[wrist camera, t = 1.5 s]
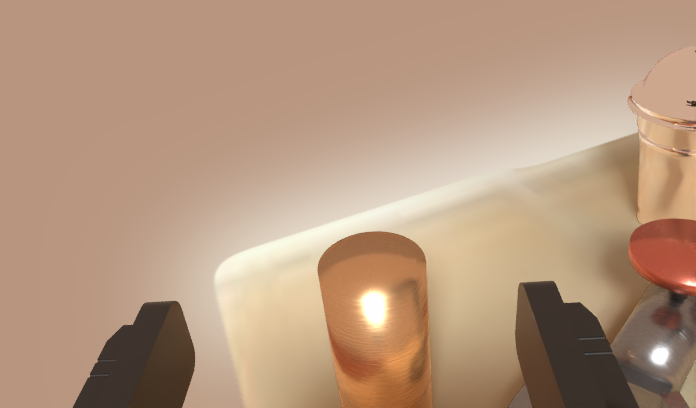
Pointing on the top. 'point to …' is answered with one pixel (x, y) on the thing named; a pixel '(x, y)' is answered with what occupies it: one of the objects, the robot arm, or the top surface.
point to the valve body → (657, 316)
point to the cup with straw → (667, 138)
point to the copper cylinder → (378, 320)
